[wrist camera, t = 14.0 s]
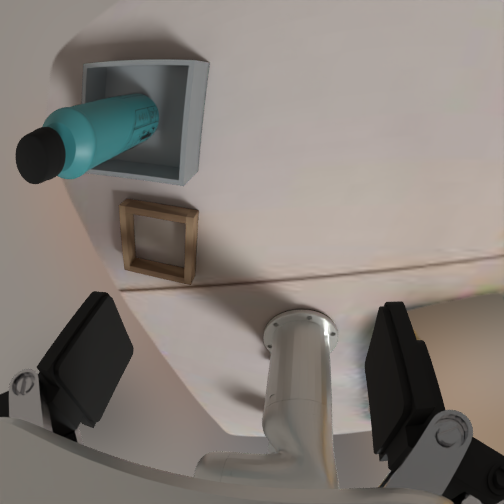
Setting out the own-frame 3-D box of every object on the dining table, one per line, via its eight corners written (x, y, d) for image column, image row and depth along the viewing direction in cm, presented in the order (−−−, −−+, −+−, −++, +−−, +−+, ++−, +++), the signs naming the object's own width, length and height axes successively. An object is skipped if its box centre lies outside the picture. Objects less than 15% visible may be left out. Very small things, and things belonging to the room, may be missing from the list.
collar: (195, 275, 47) (190, 284, 45) (131, 261, 47) (124, 269, 45) (198, 210, 41) (193, 218, 39) (126, 198, 42) (118, 205, 40)
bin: (198, 171, 38) (183, 186, 34) (105, 160, 39) (83, 172, 34) (209, 62, 31) (195, 60, 26) (108, 62, 31) (83, 63, 26)
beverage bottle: (132, 83, 32) (11, 103, 15) (176, 105, 33) (69, 137, 16) (113, 127, 35) (-3, 178, 18) (153, 150, 36) (50, 217, 19)
